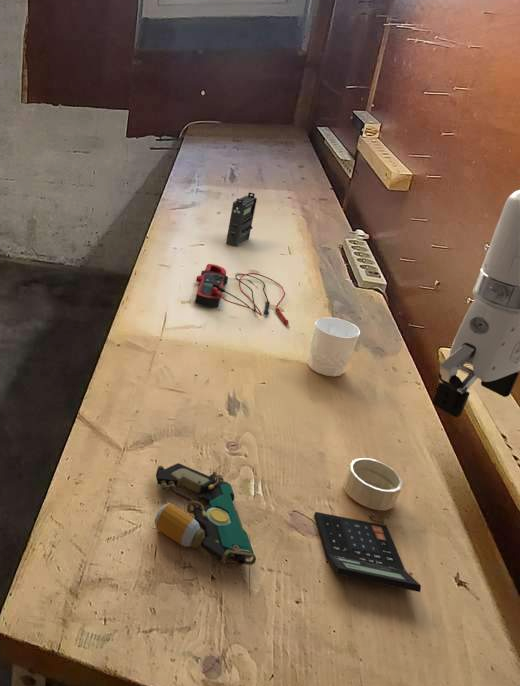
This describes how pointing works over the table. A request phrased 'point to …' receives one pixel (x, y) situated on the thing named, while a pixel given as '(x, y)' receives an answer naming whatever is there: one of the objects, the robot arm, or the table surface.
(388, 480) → the bowl
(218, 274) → the digital clamp meter
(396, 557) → the calculator
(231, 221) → the geiger counter
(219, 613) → the table surface
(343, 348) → the white cup
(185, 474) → the spray gun
